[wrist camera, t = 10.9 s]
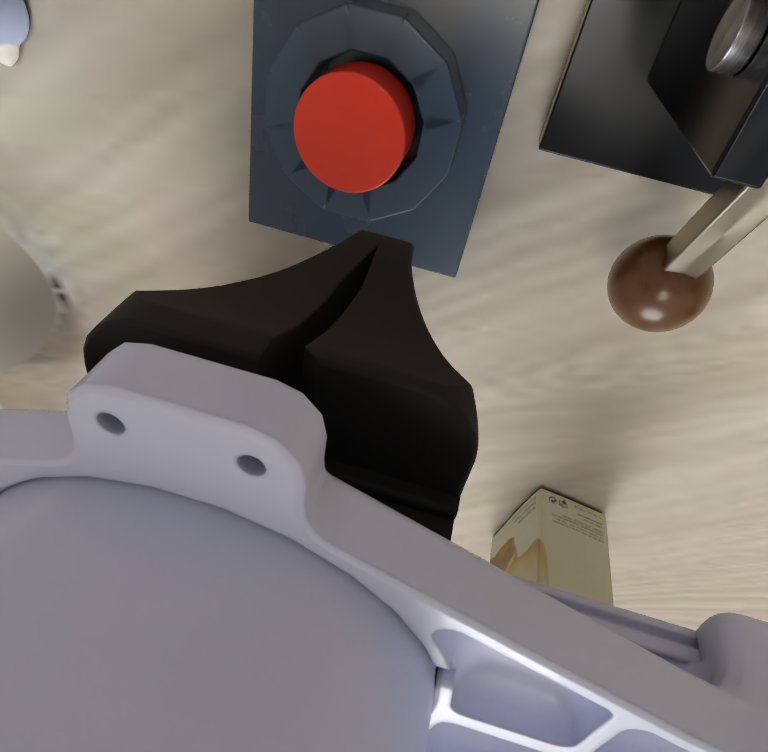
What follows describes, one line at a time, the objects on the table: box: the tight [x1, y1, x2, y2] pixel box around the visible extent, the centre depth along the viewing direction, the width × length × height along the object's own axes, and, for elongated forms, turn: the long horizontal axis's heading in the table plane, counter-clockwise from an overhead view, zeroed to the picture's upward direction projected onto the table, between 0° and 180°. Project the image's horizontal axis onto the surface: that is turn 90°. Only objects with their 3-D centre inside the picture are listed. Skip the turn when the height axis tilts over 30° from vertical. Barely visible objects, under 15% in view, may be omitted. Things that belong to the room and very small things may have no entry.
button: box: [294, 61, 415, 193], centre depth 18 cm, size 4×4×2 cm
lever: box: [607, 178, 768, 332], centre depth 15 cm, size 12×3×3 cm
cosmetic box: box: [490, 489, 613, 606], centre depth 29 cm, size 6×4×12 cm
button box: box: [249, 0, 539, 277], centre depth 20 cm, size 11×9×4 cm
